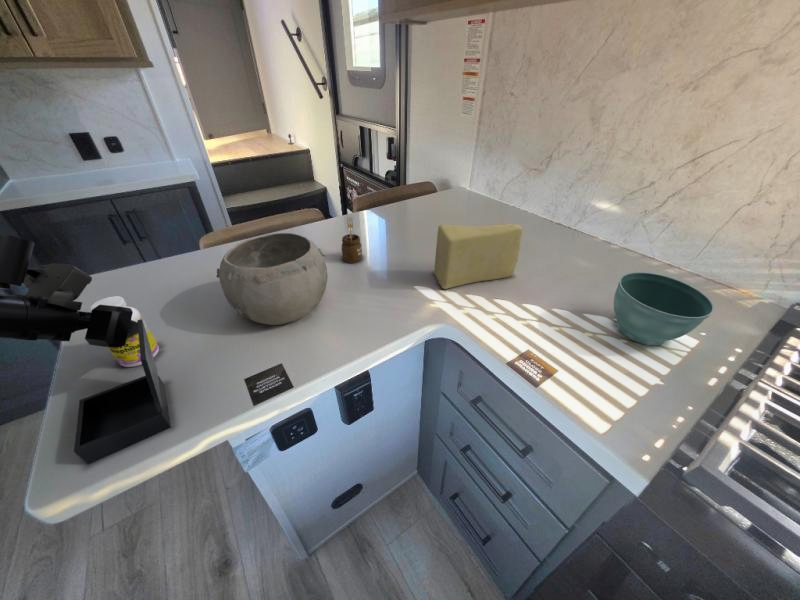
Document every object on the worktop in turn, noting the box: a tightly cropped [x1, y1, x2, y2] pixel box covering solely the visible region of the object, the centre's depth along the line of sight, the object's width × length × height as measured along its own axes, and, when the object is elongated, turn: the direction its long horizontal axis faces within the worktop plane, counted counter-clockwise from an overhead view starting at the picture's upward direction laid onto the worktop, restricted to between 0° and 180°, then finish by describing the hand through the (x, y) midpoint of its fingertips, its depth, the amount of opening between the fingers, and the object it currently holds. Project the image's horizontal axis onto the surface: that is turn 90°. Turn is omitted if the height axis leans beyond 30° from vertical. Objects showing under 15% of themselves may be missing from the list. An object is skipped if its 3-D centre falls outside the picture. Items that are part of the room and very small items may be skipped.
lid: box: [138, 319, 163, 413], centre depth 48 cm, size 11×10×1 cm
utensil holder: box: [341, 216, 363, 264], centre depth 93 cm, size 6×6×12 cm
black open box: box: [73, 375, 171, 466], centre depth 50 cm, size 10×10×4 cm
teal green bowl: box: [613, 271, 715, 346], centre depth 68 cm, size 16×16×11 cm
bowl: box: [215, 232, 329, 326], centre depth 72 cm, size 23×23×15 cm
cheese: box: [433, 223, 523, 290], centre depth 84 cm, size 22×10×15 cm, turn 100°
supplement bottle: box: [89, 295, 160, 368], centre depth 58 cm, size 7×7×13 cm
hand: (119, 325), depth 57 cm, fingers open, 9 cm apart
